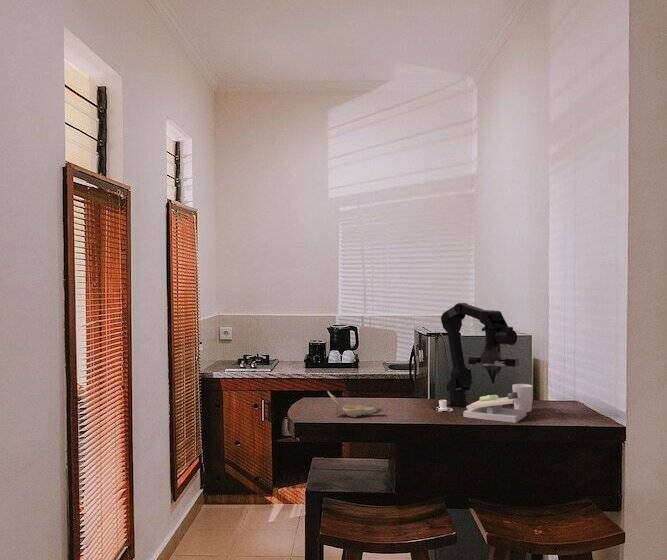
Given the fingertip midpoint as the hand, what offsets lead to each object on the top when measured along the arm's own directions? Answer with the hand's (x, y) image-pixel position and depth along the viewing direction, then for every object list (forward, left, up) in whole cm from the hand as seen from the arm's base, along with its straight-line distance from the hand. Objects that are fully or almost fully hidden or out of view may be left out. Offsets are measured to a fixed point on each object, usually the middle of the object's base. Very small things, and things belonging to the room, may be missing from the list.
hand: (493, 383), depth 240 cm
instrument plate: (+1, -3, -7) cm, 8 cm away
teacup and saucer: (-23, -3, -13) cm, 26 cm away
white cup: (+7, +13, -12) cm, 20 cm away
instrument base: (+1, -3, -12) cm, 13 cm away
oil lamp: (-46, -29, -13) cm, 55 cm away
